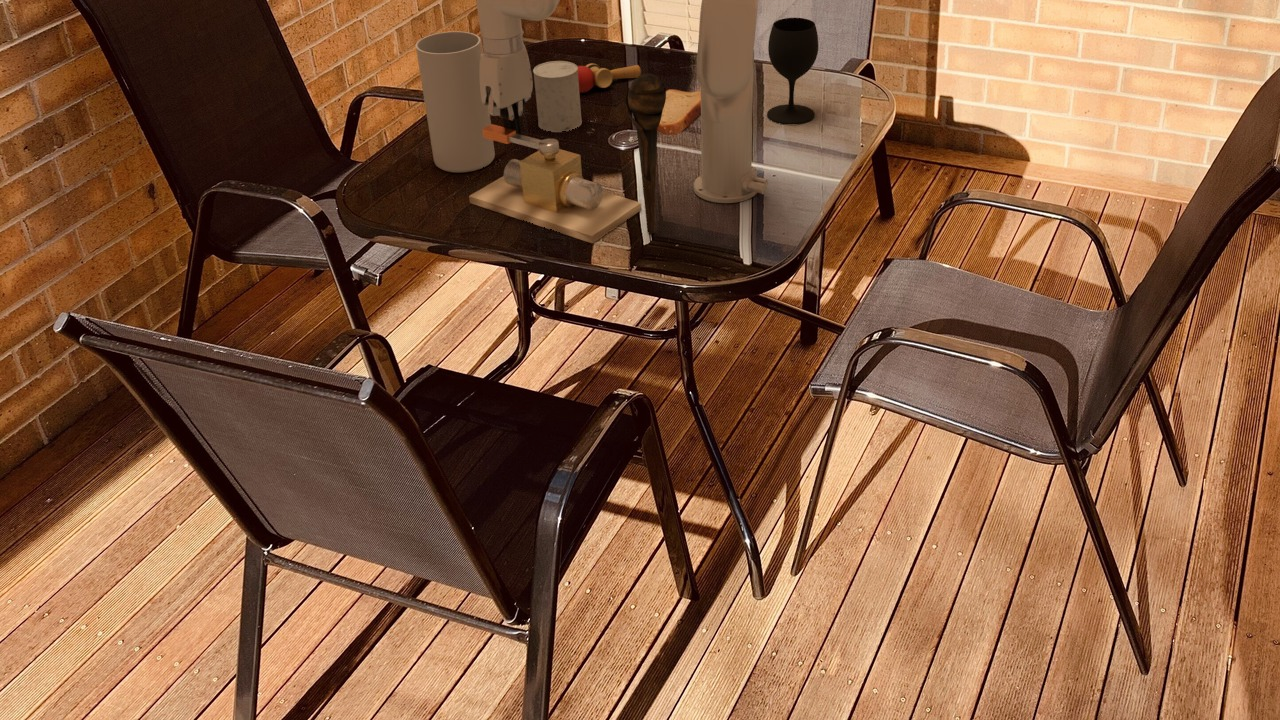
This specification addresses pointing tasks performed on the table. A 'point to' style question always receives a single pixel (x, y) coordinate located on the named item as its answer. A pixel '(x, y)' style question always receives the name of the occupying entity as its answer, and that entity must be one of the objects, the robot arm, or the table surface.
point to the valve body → (553, 181)
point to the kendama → (603, 76)
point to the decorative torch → (647, 132)
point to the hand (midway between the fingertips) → (513, 135)
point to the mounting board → (565, 221)
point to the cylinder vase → (454, 100)
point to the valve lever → (520, 139)
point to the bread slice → (679, 111)
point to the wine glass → (792, 63)
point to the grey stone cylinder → (557, 96)
